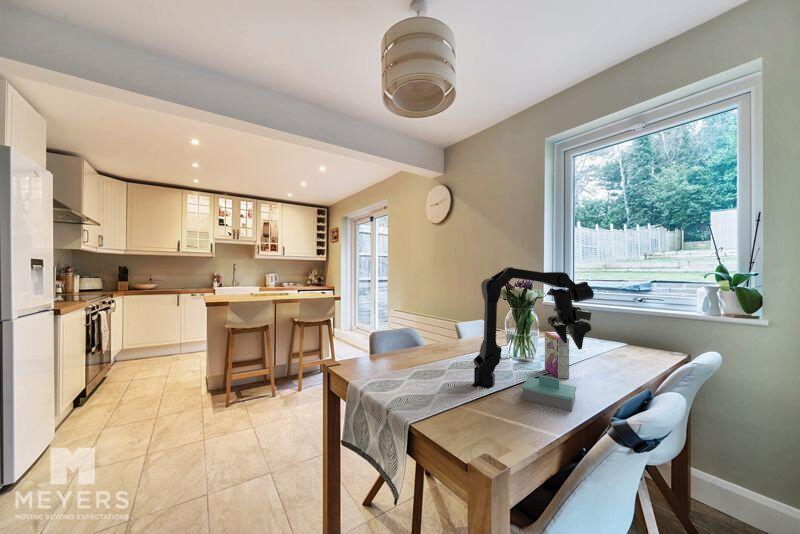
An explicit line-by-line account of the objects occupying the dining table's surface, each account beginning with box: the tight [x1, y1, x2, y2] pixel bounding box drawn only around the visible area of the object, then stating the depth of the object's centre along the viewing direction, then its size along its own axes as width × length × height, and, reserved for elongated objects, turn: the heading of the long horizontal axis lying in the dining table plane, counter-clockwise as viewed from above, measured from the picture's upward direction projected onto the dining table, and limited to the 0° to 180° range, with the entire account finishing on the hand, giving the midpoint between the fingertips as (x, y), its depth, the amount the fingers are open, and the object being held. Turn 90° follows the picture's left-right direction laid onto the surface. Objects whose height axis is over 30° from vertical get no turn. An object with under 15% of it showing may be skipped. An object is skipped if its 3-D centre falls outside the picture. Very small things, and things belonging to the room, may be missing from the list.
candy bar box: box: [544, 331, 570, 380], centre depth 123 cm, size 11×5×16 cm, turn 179°
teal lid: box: [521, 374, 577, 401], centre depth 98 cm, size 15×11×5 cm
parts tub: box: [522, 389, 576, 412], centre depth 98 cm, size 14×10×4 cm
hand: (572, 345), depth 111 cm, fingers open, 9 cm apart
